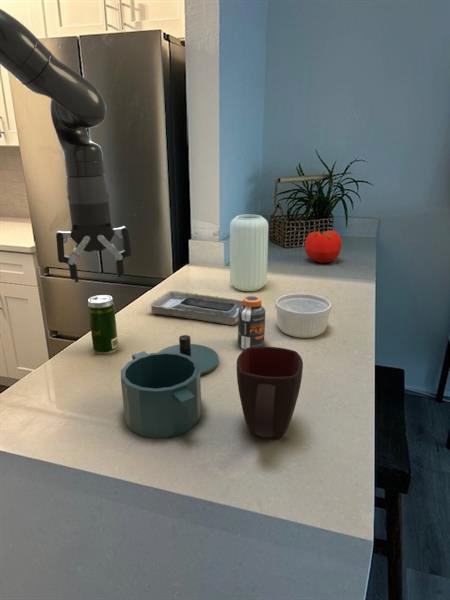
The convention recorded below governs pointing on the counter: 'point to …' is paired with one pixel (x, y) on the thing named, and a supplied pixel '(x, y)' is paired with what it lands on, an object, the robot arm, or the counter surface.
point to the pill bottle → (251, 323)
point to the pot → (161, 394)
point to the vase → (248, 252)
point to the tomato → (323, 246)
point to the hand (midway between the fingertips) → (98, 278)
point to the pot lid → (195, 353)
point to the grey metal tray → (175, 306)
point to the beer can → (103, 324)
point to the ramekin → (302, 314)
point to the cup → (268, 389)
